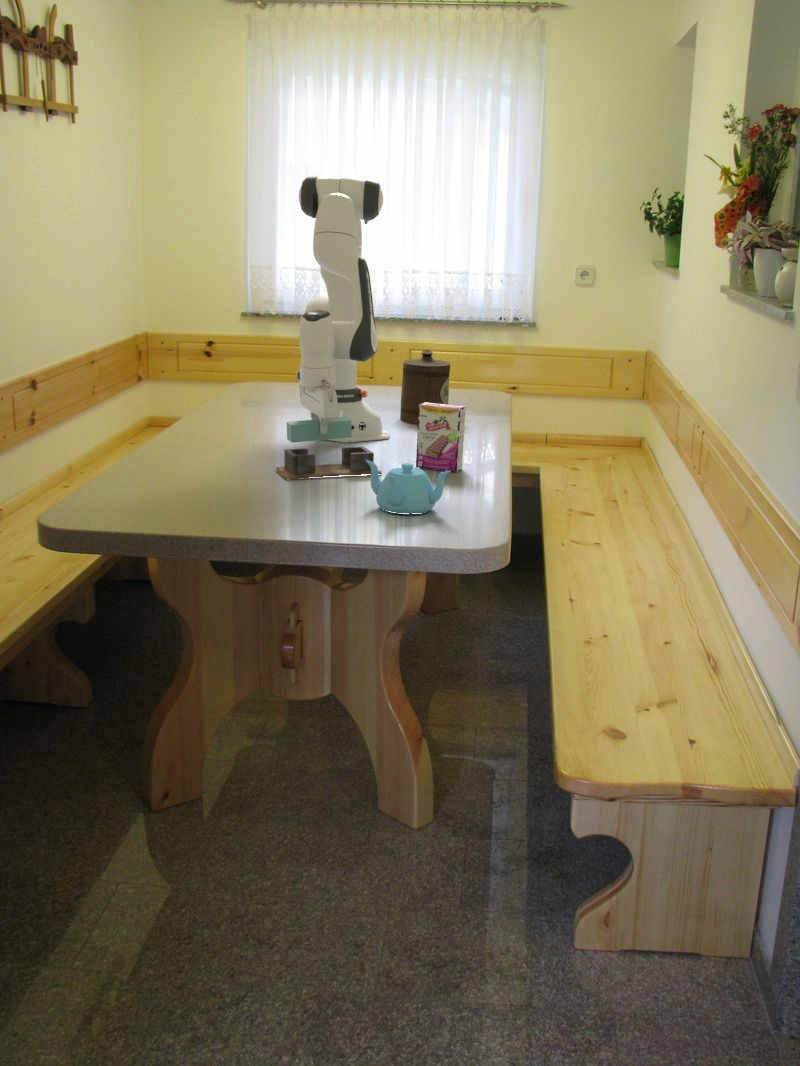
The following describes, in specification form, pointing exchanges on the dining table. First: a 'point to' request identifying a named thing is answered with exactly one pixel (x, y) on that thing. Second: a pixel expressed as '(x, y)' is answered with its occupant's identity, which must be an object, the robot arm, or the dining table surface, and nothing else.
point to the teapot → (406, 489)
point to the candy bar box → (440, 436)
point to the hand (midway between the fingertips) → (319, 430)
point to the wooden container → (423, 385)
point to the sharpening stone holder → (304, 464)
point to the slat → (310, 430)
